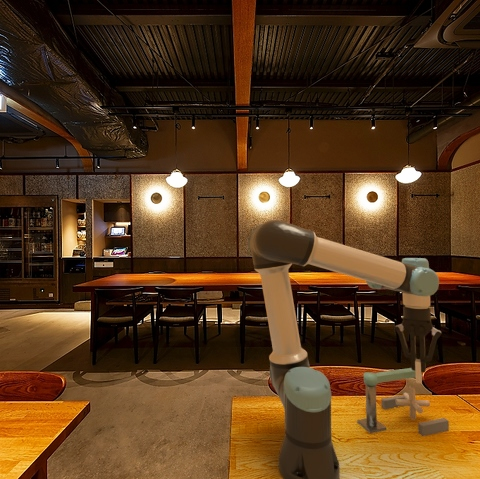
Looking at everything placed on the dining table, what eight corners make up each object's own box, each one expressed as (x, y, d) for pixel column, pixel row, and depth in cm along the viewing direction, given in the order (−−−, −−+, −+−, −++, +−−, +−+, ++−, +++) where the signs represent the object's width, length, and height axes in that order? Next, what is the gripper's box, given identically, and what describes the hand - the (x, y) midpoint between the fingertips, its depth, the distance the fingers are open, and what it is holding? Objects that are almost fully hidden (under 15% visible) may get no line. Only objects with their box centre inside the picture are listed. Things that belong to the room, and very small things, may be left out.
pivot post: (370, 433, 90) (369, 388, 91) (357, 422, 96) (356, 380, 96) (386, 430, 92) (385, 386, 92) (373, 419, 98) (372, 378, 98)
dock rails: (422, 436, 89) (422, 425, 89) (381, 407, 105) (381, 398, 105) (448, 430, 91) (448, 420, 91) (404, 403, 108) (404, 394, 108)
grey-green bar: (369, 386, 92) (369, 378, 92) (361, 380, 96) (360, 373, 96) (421, 378, 97) (421, 370, 97) (411, 373, 101) (411, 366, 101)
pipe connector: (421, 410, 102) (420, 381, 103) (437, 427, 93) (436, 395, 93) (390, 409, 103) (390, 380, 104) (403, 426, 94) (402, 394, 94)
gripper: (441, 306, 94) (444, 382, 93) (395, 302, 102) (397, 372, 101) (440, 310, 88) (443, 391, 87) (391, 306, 96) (394, 380, 95)
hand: (418, 381), depth 94 cm, fingers closed
